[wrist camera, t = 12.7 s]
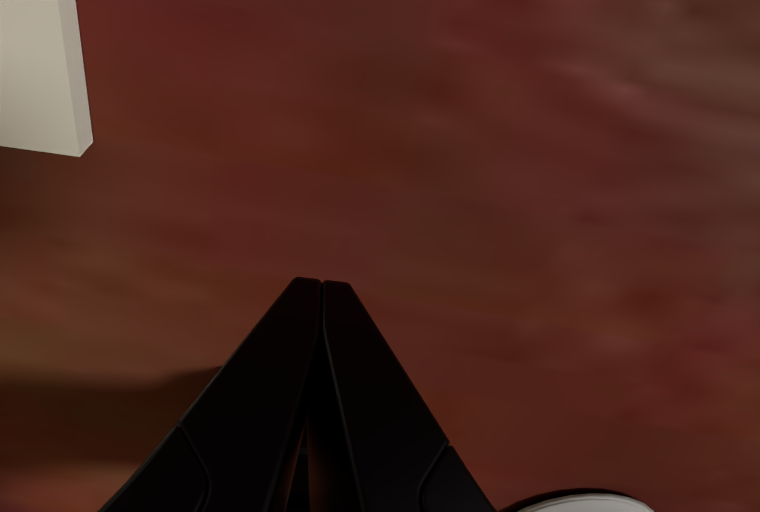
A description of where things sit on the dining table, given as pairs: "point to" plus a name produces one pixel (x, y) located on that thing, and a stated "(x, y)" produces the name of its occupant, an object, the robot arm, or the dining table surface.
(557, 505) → the chalice
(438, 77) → the dining table surface
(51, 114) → the wall board
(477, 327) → the dining table surface
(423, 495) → the robot arm
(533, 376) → the dining table surface
